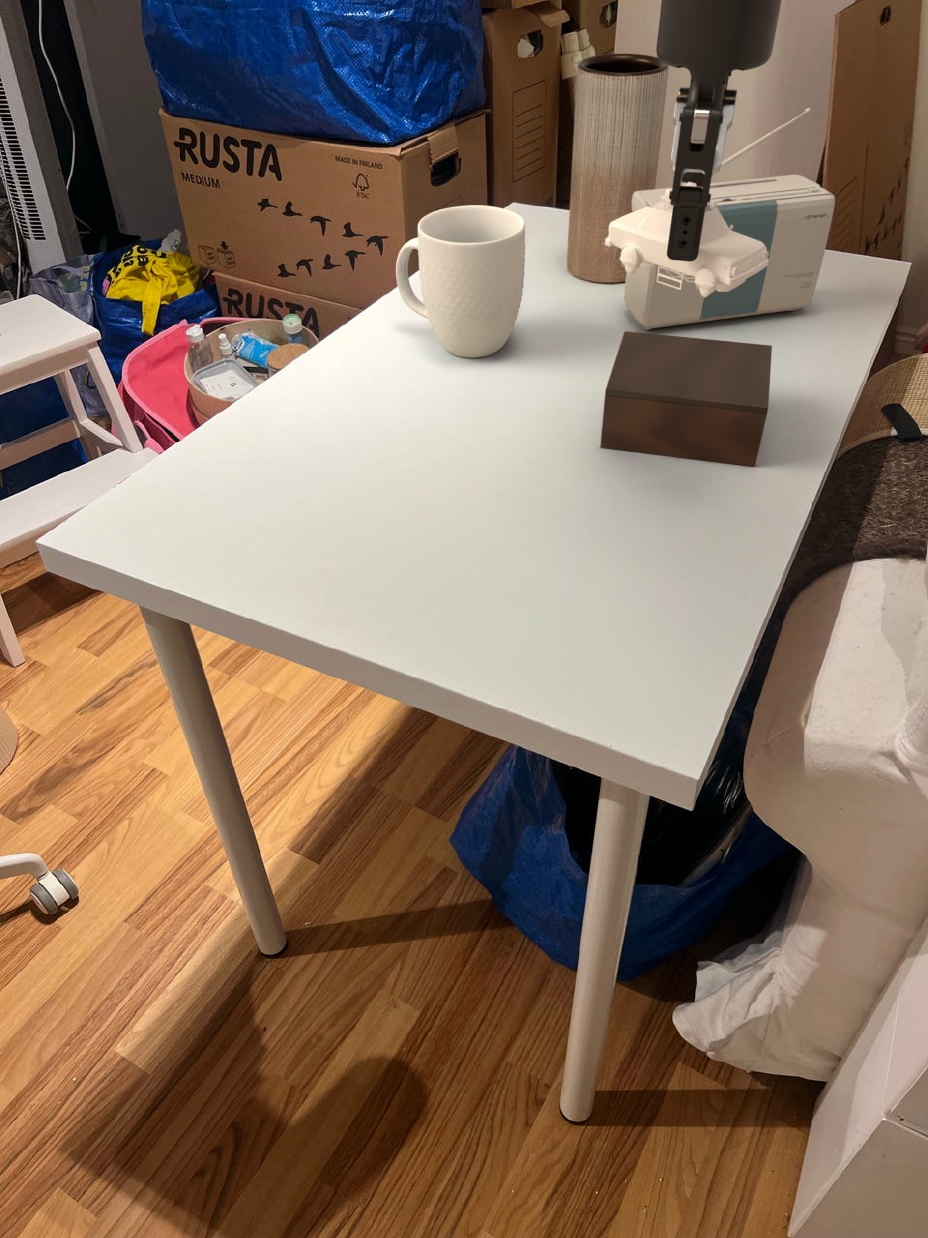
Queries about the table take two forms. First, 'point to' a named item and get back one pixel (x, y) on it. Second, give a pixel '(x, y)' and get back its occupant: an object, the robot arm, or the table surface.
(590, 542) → the table surface
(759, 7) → the robot arm
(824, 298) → the table surface
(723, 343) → the stand
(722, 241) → the toy car
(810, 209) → the radio
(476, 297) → the mug
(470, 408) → the table surface
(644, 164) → the planter
